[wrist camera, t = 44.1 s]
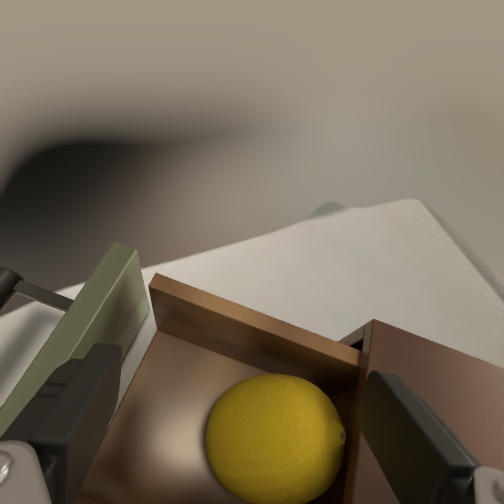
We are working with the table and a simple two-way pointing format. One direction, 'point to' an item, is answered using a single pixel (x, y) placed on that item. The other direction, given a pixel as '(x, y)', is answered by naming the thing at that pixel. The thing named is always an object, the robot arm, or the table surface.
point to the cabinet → (434, 392)
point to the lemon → (275, 440)
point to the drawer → (174, 377)
